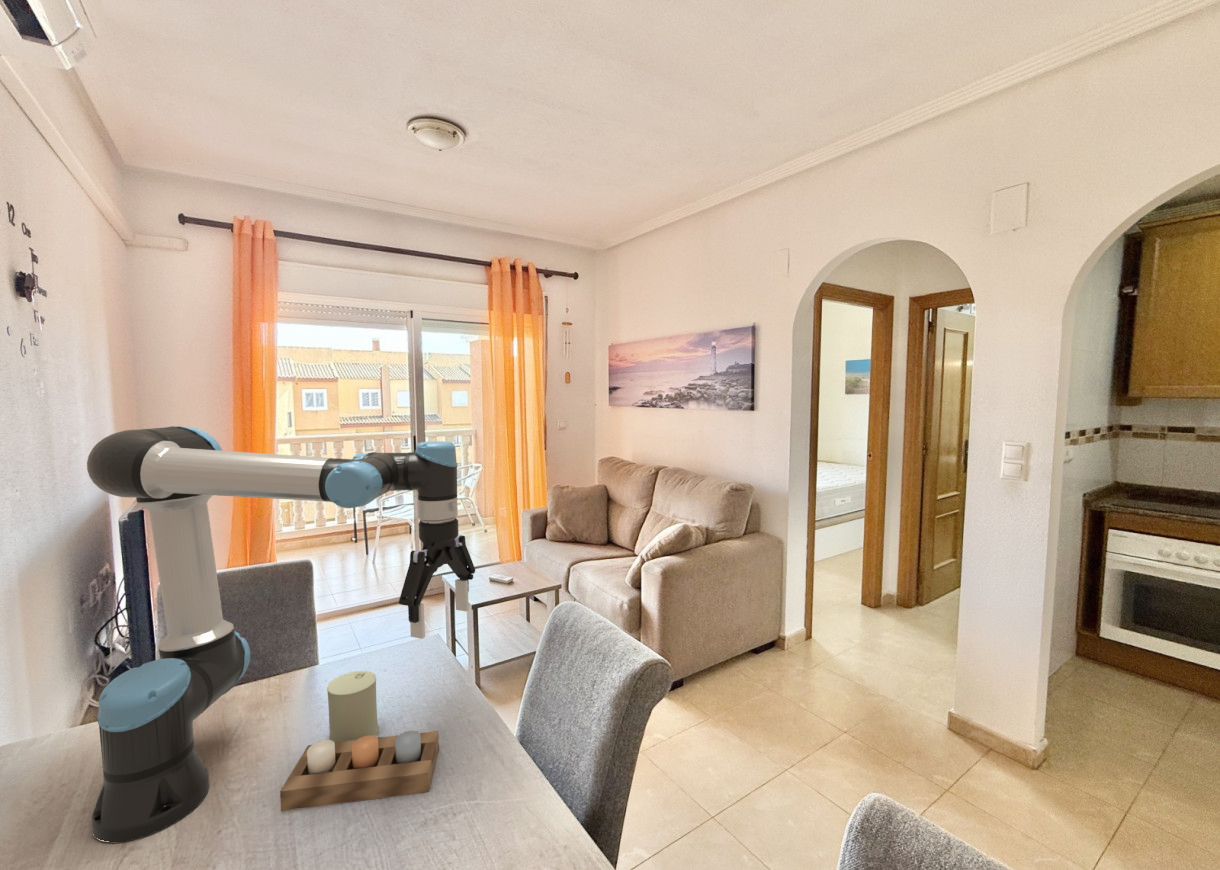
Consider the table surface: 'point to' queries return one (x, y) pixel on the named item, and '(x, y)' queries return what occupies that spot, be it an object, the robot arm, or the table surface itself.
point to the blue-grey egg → (408, 747)
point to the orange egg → (365, 752)
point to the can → (352, 706)
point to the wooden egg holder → (361, 776)
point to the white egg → (321, 757)
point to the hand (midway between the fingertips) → (441, 622)
